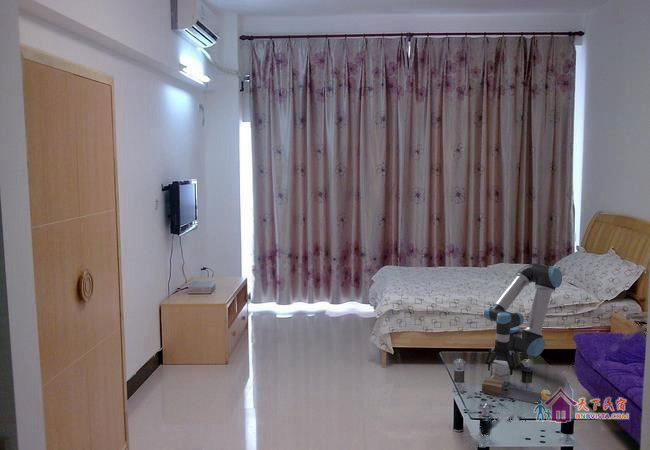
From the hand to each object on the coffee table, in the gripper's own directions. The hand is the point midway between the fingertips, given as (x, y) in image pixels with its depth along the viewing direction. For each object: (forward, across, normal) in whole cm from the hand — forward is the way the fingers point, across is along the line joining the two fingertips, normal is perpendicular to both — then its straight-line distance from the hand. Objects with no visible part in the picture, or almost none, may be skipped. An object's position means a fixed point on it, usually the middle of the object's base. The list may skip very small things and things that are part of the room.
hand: (499, 378), depth 328 cm
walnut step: (+3, -1, -13) cm, 13 cm away
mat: (+3, +14, -11) cm, 18 cm away
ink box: (+3, 0, 0) cm, 3 cm away
